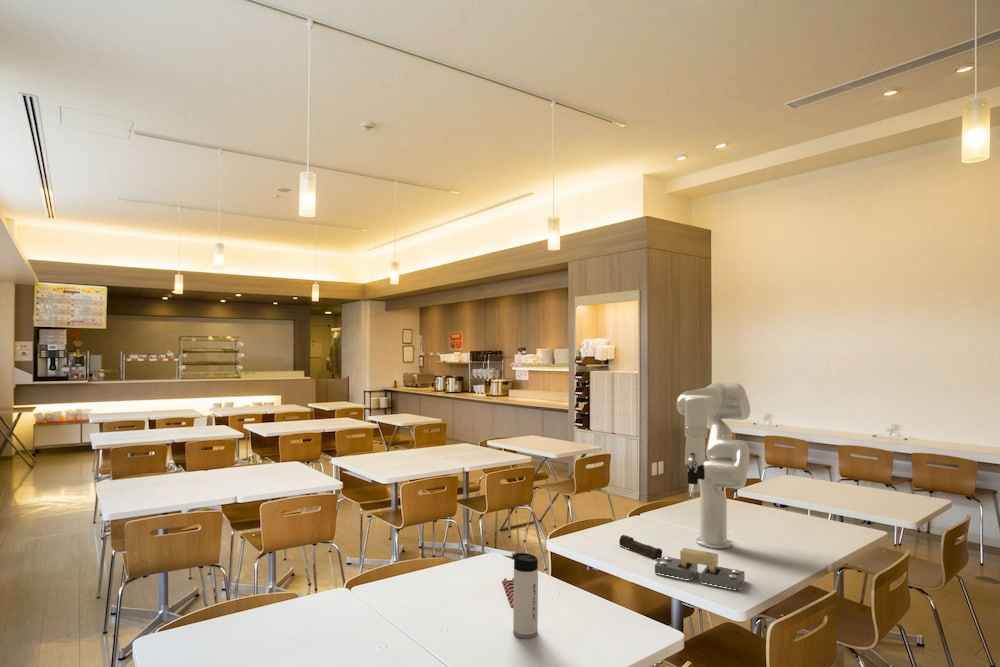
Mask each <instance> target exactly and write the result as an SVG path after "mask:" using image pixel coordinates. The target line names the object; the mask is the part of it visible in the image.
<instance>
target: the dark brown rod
mask: <svg viewBox="0 0 1000 667" xmlns="http://www.w3.org/2000/svg"><path fill="white" fill-rule="evenodd" d="M618 542H619V546H620V545H622V546H624V547H626V548H629V549H632V550H633V551H634V552H637V553H640V554H642V553H643V555H646V556H648V557H650V556H651V557H650V558H653V557H654V558H653V559H654V560H655V559H657V558H661V559H662V558H663V557H662V556H663V550H662V549H661V548H660V547H659V548H656V547H654V546H652V545H648V544H644V543H642V542H639V541H638V540H634V537H632V536H628V535H626V534H622V535H620V537H619V540H618ZM622 546H621V547H622Z"/></svg>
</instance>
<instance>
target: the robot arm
mask: <svg viewBox="0 0 1000 667" xmlns="http://www.w3.org/2000/svg"><path fill="white" fill-rule="evenodd" d="M676 409H677V412H678V413H679V414H680V415H684V437H686V439H685V440H686V441H685V449H684V450H685V451H684V452H685V453H684V454H685V455H684V464H685V466H687V484H688V485H698V483H699V492H700V495H699V496H700V502H699V503H700V506H699V507H700V536H698V537H696V543H697V544H698V545H699V546H702V547H704V548H709V549H728V548H730V547H731V546H732V542H731V541H730V540H729V539H728V530H727V529H728V528H727V527H728V522H727V520H728V519H727V516H728V515H727V513H728V512H727V511H728V507H727V506H728V505H727V504H728V500H727V496H726V494H725V493H724V491H723V490H722V488H727V489H737V490H739V489H743V488H744V487H745V486H746V483H747V477H748V471H749V465H750V464H749V463H750V455H751V454H750V453H751V452H750V446H749V445H748V443H747V442H746V441H743V440H739V439H732V438H733V432H732V430H731V428H730V427H729V425H728V424H727V423H726V422H725V421H723V420H732V421H733V420H734V421H736V420H738V421H744V420H745V421H746V420H748V418H749V417H750V415H751V405H750V402H749V399H748V395H747V392H746V390H745V388H744V386H742V385H741V384H740V383H737V382H713V383H711V384H709V385H707V386H705V387H704V388H698V389H693V390H687V391H684V392H682V393H681V394H680V395H679V396H678V397H677V400H676ZM708 427H709V433H708ZM708 434H709V436H708ZM706 438H708V439H707V445H706ZM706 458H707V459H708V460H706Z"/></svg>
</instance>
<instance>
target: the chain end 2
mask: <svg viewBox="0 0 1000 667" xmlns="http://www.w3.org/2000/svg"><path fill="white" fill-rule="evenodd" d="M717 572H718V575H715V574H710V573H709V566H707V565H706V567H705V568H704V569H703V570H702V571H701V573H700V583H701V582H702V583H707V584H712V585H717V586H722V587H727V588H731V589H736V590H739V588H740V587H741V588H742V586H743V585H742V583H743V582H744V583H745V581H744V580H745V571H743V570H739V569H733V568H727V567H722V566H718V565H717ZM744 583H743V584H744ZM741 585H742V586H741ZM741 588H740V589H741ZM739 591H740V590H739Z"/></svg>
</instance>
